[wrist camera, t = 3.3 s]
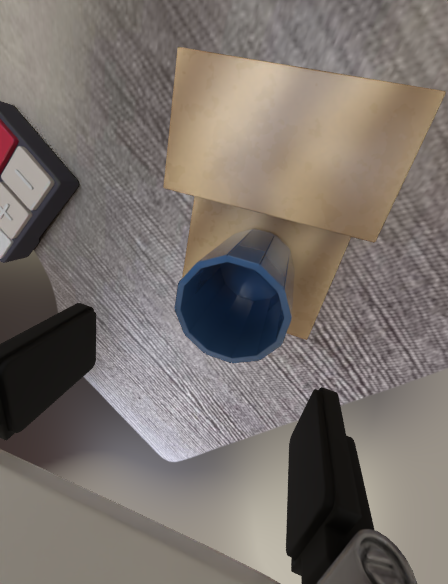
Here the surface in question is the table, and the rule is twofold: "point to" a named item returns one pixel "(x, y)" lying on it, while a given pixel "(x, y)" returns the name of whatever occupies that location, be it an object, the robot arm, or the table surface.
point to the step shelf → (290, 159)
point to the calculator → (27, 185)
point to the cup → (239, 297)
